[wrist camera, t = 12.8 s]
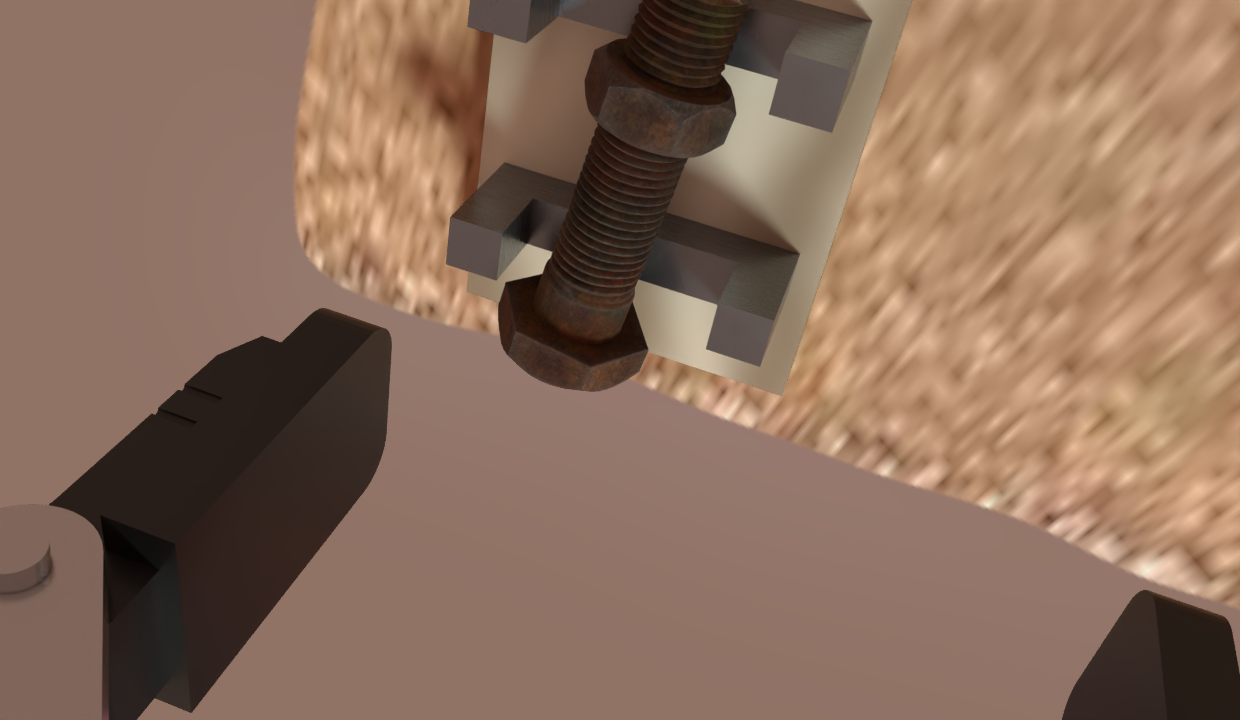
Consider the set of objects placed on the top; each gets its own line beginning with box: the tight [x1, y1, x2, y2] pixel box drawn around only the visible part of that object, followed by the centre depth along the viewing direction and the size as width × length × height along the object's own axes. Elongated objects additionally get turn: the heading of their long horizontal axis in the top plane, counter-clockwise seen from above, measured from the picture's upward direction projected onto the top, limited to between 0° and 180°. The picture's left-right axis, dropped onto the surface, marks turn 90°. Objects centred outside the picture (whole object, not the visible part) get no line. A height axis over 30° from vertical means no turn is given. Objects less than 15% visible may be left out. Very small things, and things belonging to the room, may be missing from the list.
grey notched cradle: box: [446, 0, 873, 367], centre depth 39 cm, size 12×11×5 cm
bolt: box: [498, 0, 753, 392], centre depth 38 cm, size 6×5×15 cm
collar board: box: [467, 0, 912, 396], centre depth 41 cm, size 14×20×2 cm
